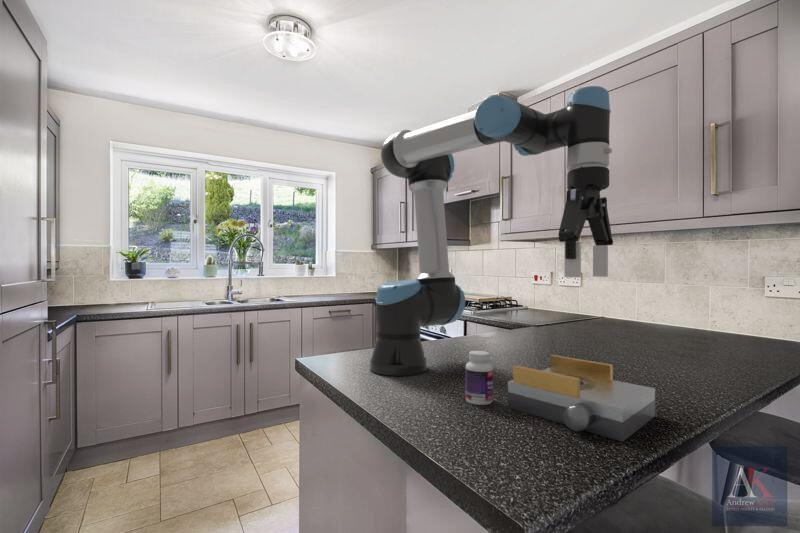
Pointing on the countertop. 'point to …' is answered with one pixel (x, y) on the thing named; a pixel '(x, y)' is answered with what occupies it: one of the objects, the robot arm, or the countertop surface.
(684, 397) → the countertop surface
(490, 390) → the pill bottle
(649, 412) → the grey clamp fixture
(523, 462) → the countertop surface
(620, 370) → the countertop surface
